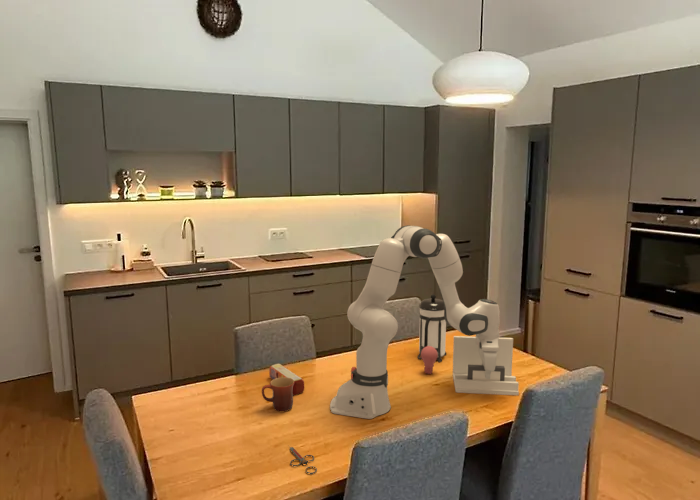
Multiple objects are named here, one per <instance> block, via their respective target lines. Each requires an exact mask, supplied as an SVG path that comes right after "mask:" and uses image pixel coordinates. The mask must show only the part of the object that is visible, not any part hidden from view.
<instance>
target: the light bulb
mask: <svg viewBox="0 0 700 500" xmlns="http://www.w3.org/2000/svg"><path fill="white" fill-rule="evenodd" d="M420 357H421V358H422V359H421V360H422V362H423V363H424V365H423V366H424V371H423V372H424V373H425V374H432V373H433V370H434V367H435V366H434V365H435V363H436V361H437V357H438V353H437V350H436V349H435V348H434V347H432V346H426V347H424V348H423V349H422V351H421V355H420Z"/></svg>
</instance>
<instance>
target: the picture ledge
mask: <svg viewBox="0 0 700 500" xmlns="http://www.w3.org/2000/svg"><path fill="white" fill-rule="evenodd" d="M452 350H453V352H452V354H453V355H452V379H453V385H454V389H455V390H454V391H455V393H462V394H463V393H464V394H479V395H481V394H482V395H503V396H504V395H505V396H519V393H520V391H519V386H520V385H519V384H520V383H519V381H517V377H516V375H512V373H513V372H512V371H513V370H512V369H513V355H514V353H513V350H514V338H513V337H499V351H498V352H497V358H496V366H504V367H505V378H504V381H491V380H468V379H467V377H468V365H482V360H481V357H480V354H479V346H478V345H477V344H476V336H468V335H466V336H463V335H453V349H452Z"/></svg>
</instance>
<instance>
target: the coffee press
mask: <svg viewBox="0 0 700 500" xmlns="http://www.w3.org/2000/svg"><path fill="white" fill-rule="evenodd" d="M436 297H437V295H436V294H431V295H430V298H425V299H422V300H421V301H420V303H419V305H418V307H419V314H418V317H419V331H418V332H419V335H418V336H419V338H418V339H419V342H418V344H419V345H418V352H419V353H418V355H417V359H418V360H422V358H421V351H422V349H423V348H424V347H426V346H432V347H434V348H435V349H436V350H437V353H438V357H437V359H436V361H437V362H438V363H442V362H443V360H442V357H444V356H447V352H446V342H447V341H446V335H447V334H446V333H447V323H446V321H445V318H444V302H443V299H440V298H436Z"/></svg>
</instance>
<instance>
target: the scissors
mask: <svg viewBox="0 0 700 500" xmlns="http://www.w3.org/2000/svg"><path fill="white" fill-rule="evenodd" d="M290 450H291V451H292V452H293V453H294V454H293V453H292V452H291V451H290ZM289 451H290V452H291V453H292V454H293V456H294V457H295V456H296V457H297V458H298V459H297V458H296V457H295V459H294V458H293V459H292V460H291V461H290V462H289V463H290V466H291V465H293V466H292V467H294V466H297V465H300V464H301V463H302V464H307V463H308V464H309V462H308V461H312V462H314V460H315V456H313V455H312V454H306V455H304V456H302V455H301V454H300V453H299V452H298V451H297V450H296V449H295V448H294V447H293V446H289ZM306 456H308V457H311V456H312V457H311V458H312V459H311V460H307V459H306V458H307V457H306ZM304 457H305V458H304ZM294 460H299V461H298V462H299V463H298V464H292V463H293V462H295V461H294ZM292 461H293V462H292ZM300 461H301V462H300ZM302 464H301V465H302ZM301 465H300V466H301ZM297 467H298V466H297ZM310 467H312V468H310ZM313 467H314V468H316V469H315V471H313V472H309V471H308V469H307V468H309V469H314V468H313ZM306 469H307V470H306ZM316 471H318V468H317V467H316V466H313V465H310V466H308V467H307V466H306V468H305V473H306V472H307V473H310V474H309V475H314V474H316V473H317V472H316ZM315 472H316V473H315ZM307 473H306V474H307ZM313 473H314V474H313Z"/></svg>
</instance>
